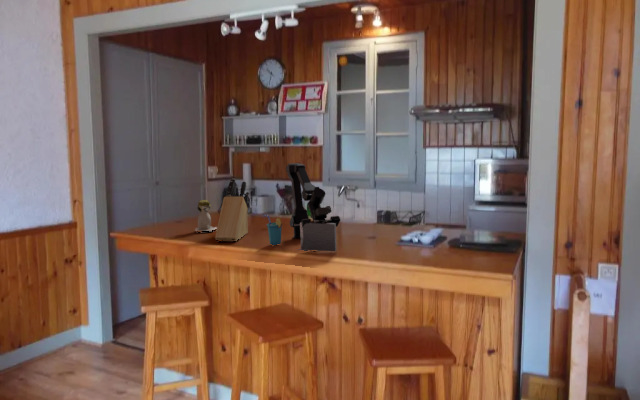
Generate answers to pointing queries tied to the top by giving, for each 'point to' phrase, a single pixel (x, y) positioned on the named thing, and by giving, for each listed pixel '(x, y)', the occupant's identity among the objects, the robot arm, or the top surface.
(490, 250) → the top surface
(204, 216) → the white figurine
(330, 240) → the dark grey flat panel
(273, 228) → the cup
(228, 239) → the knife block
